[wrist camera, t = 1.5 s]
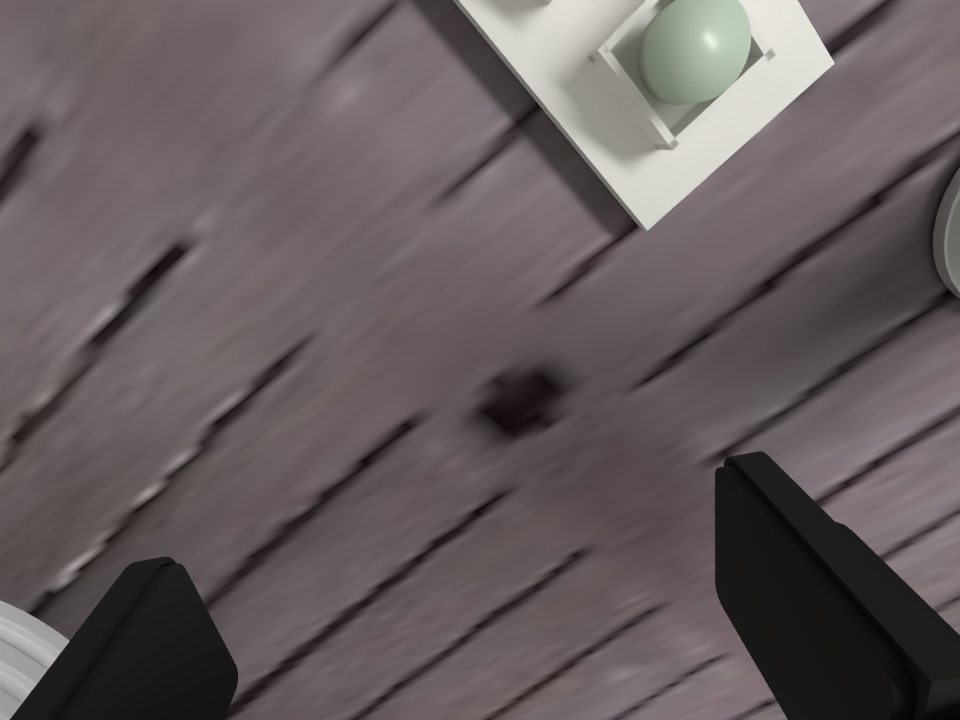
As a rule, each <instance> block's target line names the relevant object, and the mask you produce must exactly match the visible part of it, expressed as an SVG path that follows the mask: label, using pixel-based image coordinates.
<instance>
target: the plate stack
mask: <svg viewBox="0 0 960 720" xmlns="http://www.w3.org/2000/svg"><path fill="white" fill-rule="evenodd" d="M68 643H69V640H68V639H66V638H65V637H64V636H62V635H61V634H60V633H58V632H57V631H56V630H54V629H53V628H51V627H50V626H48V625H47V624H45V623H43V622H42V621H40V620H38V619H37V618H35V617H33V616H31V615H30V614H28V613H26V612H24V611H22V610H20V609H18V608H16V607H14V606H12V605H10V604H7V603H5V602H3V601H0V720H10V719H11V717H12V716H13V715H14V713H15V712H16V711H17V709H18V708H19V707H20V705H21V704H22V703H23V702H24V700H25V699H26V698H27V696H28V695H29V694H30V692H31V691H32V690H33V688H34V687H35V686H36V685H37V683H38V682H39V681H40V679H41V678H42V677H43V675H44V674H45V673H46V671H47V670H48V669H49V668H50V666H51V665H52V664H53V662H54V661H55V660H56V658H57V657H58V656H59V654H60V653H61V652H62V651H63V649H64V648H65V647H66V645H67V644H68Z"/></svg>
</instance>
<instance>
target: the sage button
mask: <svg viewBox="0 0 960 720" xmlns="http://www.w3.org/2000/svg"><path fill="white" fill-rule="evenodd" d="M750 45H751V27H750V22H749V18H748V16H747V13H746V11H745V9H744V7H743V6H742V4H741V3H740V2H739V1H738V0H676V1H674V2H673V3H671V4H670V5H668V6H666V7H665V8H664V9H662V10H661V11H660V12H659V13H657V14H656V15H655V17H654V18H653V19H652V20H651V21H650V23H649V24H648V26H647V27H646V29H645V31H644V33H643V35H642V38H641V41H640V44H639V49H638V58H637V63H638V71H639V75H640V79H641V81H642V83H643V85H644V87H645V88H646V90H647V91H648V92H649V94H650V95H651V96H653V97H654V98H655V99H657V100H658V101H660V102H662V103H664V104H668V105H675V106H677V105H686V104H693V103H699V102H704V101H708V100H710V99H713V98H715V97H717V96H719V95H720V94H722V93H723V92H724V91H726V90H727V89H728V88H729V87H730V86H731V85H732V84H733V83H734V82H735V80H736V79H737V78H738V77H739V75H740V73H741V72H742V70H743V68H744V66H745V64H746V61H747V58H748V55H749V51H750Z"/></svg>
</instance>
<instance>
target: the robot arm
mask: <svg viewBox="0 0 960 720" xmlns="http://www.w3.org/2000/svg"><path fill="white" fill-rule="evenodd" d="M933 255H934V259H935V264H936V268H937V271H938V273H939V275H940V277H941V279H942V281H943V283H944V284H945V285H946V287H947V288H948V289H949V290H950V291H951V292H952V293H953V294H954V295H955V296H957V297H958V298H960V168H959V169H958V170H957V172H956V173H955V175H954V177H953V179H952V181H951V182H950V184H949V186H948V188H947V190H946V192H945V193H944V196H943V199H942V202H941V204H940V207H939V210H938V213H937V216H936V221H935V227H934V232H933ZM715 585H716V591H717V594H718V598H719V600H720V603H721V605H722V607H723V609H724V610H725V612H726V614H727V616H728V617H729V619H730V621H731V622H732V624H733V626H734V628H735V629H736V631H737V633H738V634H739V636H740V638H741V640H742V641H743V643H744V645H745V646H746V648H747V650H748V652H749V653H750V655H751V657H752V659H753V660H754V662H755V664H756V665H757V667H758V669H759V671H760V672H761V674H762V676H763V677H764V679H765V681H766V683H767V684H768V686H769V688H770V690H771V691H772V693H773V695H774V696H775V698H776V700H777V702H778V703H779V705H780V707H781V708H782V710H783V712H784V714H785V715H786V717H787V719H788V720H960V635H959V634H958V633H957V632H956V631H955V630H954V629H953V628H952V627H951V626H950V625H949V624H948V623H947V622H945V621H944V620H943V619H942V618H941V617H940V616H939V615H938V614H937V613H936V612H935V611H934V610H933V609H932V608H931V607H930V606H929V605H928V604H927V603H926V602H925V601H924V600H923V599H922V598H921V597H920V596H919V595H918V594H917V593H916V592H915V591H914V590H913V589H912V588H911V587H910V586H908V585H907V584H906V583H905V582H904V581H903V580H902V579H901V578H900V577H899V576H898V575H897V574H896V573H895V572H894V571H893V570H892V569H891V568H890V567H889V566H888V565H887V564H886V563H885V562H884V561H883V560H882V559H881V558H880V557H879V556H878V555H877V554H876V553H875V552H874V551H873V550H871V549H870V548H869V547H868V546H867V545H866V544H865V543H864V542H863V541H862V540H861V539H860V538H859V537H858V536H857V535H856V534H855V533H854V532H853V531H852V530H850V529H849V528H848V527H846V526H845V525H843V524H840V523H838V522H835V521H834V520H833V519H832V518H831V517H830V516H829V515H828V514H827V513H826V512H825V511H824V510H823V509H822V508H821V507H820V506H819V505H818V504H817V503H815V502H814V501H813V500H812V499H811V498H810V497H809V496H808V495H807V494H806V493H805V492H804V491H803V490H802V489H801V488H800V487H799V486H798V485H797V484H796V483H795V482H794V481H793V480H792V479H791V478H790V477H789V476H788V475H787V474H786V473H785V472H784V471H783V470H782V469H781V468H780V467H779V466H778V465H777V464H776V463H775V462H774V461H773V460H772V459H771V458H770V457H769V456H768V455H767V454H766V453H764V452H761V451H759V452H753V453H748V454H742V455H736V456H731V457H728V458H726V459H725V462H724V467H719V468H717V469H716V471H715ZM237 682H238V671H237V667H236V664H235V663H234V661H233V659H232V657H231V655H230V653H229V651H228V649H227V647H226V645H225V643H224V641H223V640H222V638H221V636H220V634H219V632H218V630H217V628H216V626H215V624H214V622H213V620H212V618H211V617H210V615H209V613H208V611H207V609H206V607H205V605H204V603H203V601H202V599H201V597H200V595H199V594H198V592H197V590H196V588H195V586H194V584H193V582H192V580H191V578H190V576H189V574H188V572H187V571H186V569H185V567H184V566H183V565H181V564H176V562H175V561H174V560H173V559H172V558H170V557H161V558H156V559H150V560H144V561H139V562H134V563H132V564H130V565H129V566H127V567H126V568H125V569H124V571H123V572H122V573H121V575H120V576H119V577H118V579H117V580H116V581H115V582H114V584H113V585H112V586H111V588H110V589H109V590H108V592H107V593H106V594H105V596H104V597H103V598H102V599H101V601H100V602H99V603H98V605H97V606H96V607H95V609H94V610H93V611H92V613H91V614H90V615H89V616H88V618H87V619H86V620H85V622H84V623H83V624H82V626H81V627H80V628H79V630H78V631H77V632H76V633H75V635H74V636H73V637H72V639H71V640H70V641H69V643H68V644H67V645H66V647H65V648H64V649H63V651H62V652H61V653H60V654H59V656H58V657H57V658H56V660H55V661H54V662H53V664H52V665H51V666H50V668H49V669H48V670H47V671H46V673H45V674H44V675H43V677H42V678H41V679H40V681H39V682H38V683H37V685H36V686H35V687H34V688H33V690H32V691H31V692H30V694H29V695H28V696H27V698H26V699H25V700H24V702H23V703H22V704H21V705H20V707H19V708H18V709H17V711H16V712H15V713H14V715H13V716H12V717H11V719H10V720H224V719H225V716H226V714H227V711H228V709H229V706H230V704H231V701H232V698H233V696H234V693H235V691H236V687H237Z"/></svg>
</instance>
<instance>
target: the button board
mask: <svg viewBox="0 0 960 720" xmlns="http://www.w3.org/2000/svg"><path fill="white" fill-rule="evenodd" d="M453 1H454V2H455V4H456V5H457V6H458V7H459V9H460V10H461V11H462V12H463V13H464V15H465V16H466V17H467V18H468V19H469V21H470V22H471V23H472V24H473V26H474V27H475V28H476V29H477V30H478V32H479V33H480V34H481V35H482V36H483V38H484V39H485V40H486V41H487V43H488V44H489V45H490V46H491V47H492V49H493V50H494V51H495V52H496V54H497V55H498V56H499V57H500V58H501V60H502V61H503V62H504V63H505V64H506V66H507V67H508V68H509V69H510V71H511V72H512V73H513V74H514V75H515V77H516V78H517V79H518V80H519V81H520V83H521V84H522V85H523V86H524V88H525V89H526V90H527V91H528V92H529V94H530V95H531V96H532V97H533V98H534V100H535V101H536V102H537V103H538V105H539V106H540V107H541V108H542V109H543V111H544V112H545V113H546V114H547V116H548V117H549V118H550V119H551V120H552V122H553V123H554V124H555V125H556V126H557V128H558V129H559V130H560V131H561V133H562V134H563V135H564V136H565V137H566V139H567V140H568V141H569V142H570V143H571V145H572V146H573V147H574V148H575V150H576V151H577V152H578V153H579V154H580V156H581V157H582V158H583V159H584V161H585V162H586V163H587V164H588V165H589V167H590V168H591V169H592V170H593V171H594V173H595V174H596V175H597V176H598V178H599V179H600V180H601V181H602V182H603V184H604V185H605V186H606V187H607V188H608V190H609V191H610V192H611V193H612V195H613V196H614V197H615V198H616V199H617V201H618V202H619V203H620V204H621V205H622V207H623V208H624V209H625V210H626V212H627V213H628V214H629V215H630V216H631V218H632V219H633V220H634V221H635V223H636V224H637V225H638V226H639V227H641V228H643V229H645V230H647V231H648V230H649V229H650V228H651V227H652V226H653V225H654V224H655V223H657V222H658V221H659V220H660V219H661V218H662V217H663V216H664V215H666V214H667V213H668V212H669V211H670V210H671V209H672V208H673V207H674V206H676V205H677V204H678V203H679V202H680V201H681V200H682V199H683V198H685V197H686V196H687V195H688V194H689V193H690V192H691V191H692V190H694V189H695V188H696V187H697V186H698V185H699V184H700V183H701V182H702V181H704V180H705V179H706V178H707V177H708V176H709V175H710V174H711V173H713V172H714V171H715V170H716V169H717V168H718V167H719V166H720V165H721V164H723V163H724V162H725V161H726V160H727V159H728V158H729V157H730V156H732V155H733V154H734V153H735V152H736V151H737V150H738V149H739V148H741V147H742V146H743V145H744V144H745V143H746V142H747V141H748V140H749V139H751V138H752V137H753V136H754V135H755V134H756V133H757V132H758V131H760V130H761V129H762V128H763V127H764V126H765V125H766V124H767V123H768V122H770V121H771V120H772V119H773V118H774V117H775V116H776V115H777V114H779V113H780V112H781V111H782V110H783V109H784V108H785V107H786V106H788V105H789V104H790V103H791V102H792V101H793V100H794V99H795V98H796V97H798V96H799V95H800V94H801V93H802V92H803V91H804V90H805V89H807V88H808V87H809V86H810V85H811V84H812V83H813V82H814V81H815V80H817V79H818V78H819V77H820V76H821V75H822V74H823V73H824V72H826V71H827V70H828V69H829V68H830V67H831V66H832V65H833V64H834V61H833V60H832V58H831V56H830V55H829V53H828V51H827V50H826V48H825V46H824V45H823V43H822V41H821V39H820V38H819V36H818V34H817V33H816V31H815V29H814V28H813V26H812V24H811V22H810V21H809V19H808V17H807V16H806V14H805V12H804V11H803V9H802V7H801V6H800V4H799V2H798V0H738V1H739V2H740V3H741V4H742V6H743V7H744V9H745V11H746V13H747V16H748V18H749V22H750V27H751V45H750V51H749V55H748V58H747V61H746V64H745V66H744V68H743V70H742V72H741V73H740V75H739V77H738V78H737V79H736V80H735V82H734V83H733V84H732V85H731V86H730V87H729V88H728V89H727V90H726V91H724V92H723V93H722V94H720V95H719V96H717V97H715V98H713V99H710V100H708V101H704V102H699V103H693V104H686V105H677V106H675V105H668V104H664V103H662V102H660V101H658V100H657V99H655V98H654V97H653V96H651V95H650V94H649V92H648V91H647V90H646V88H645V87H644V85H643V83H642V81H641V79H640V75H639V71H638V63H637V58H638V49H639V44H640V41H641V38H642V35H643V33H644V31H645V29H646V27H647V26H648V24H649V23H650V21H651V20H652V19H653V18H654V17H655V15H656V14H657V13H659V12H660V11H661V10H662V9H664V8H665V7H666V6H668V5H670V4H671V3H673V2H674V1H676V0H453Z"/></svg>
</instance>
